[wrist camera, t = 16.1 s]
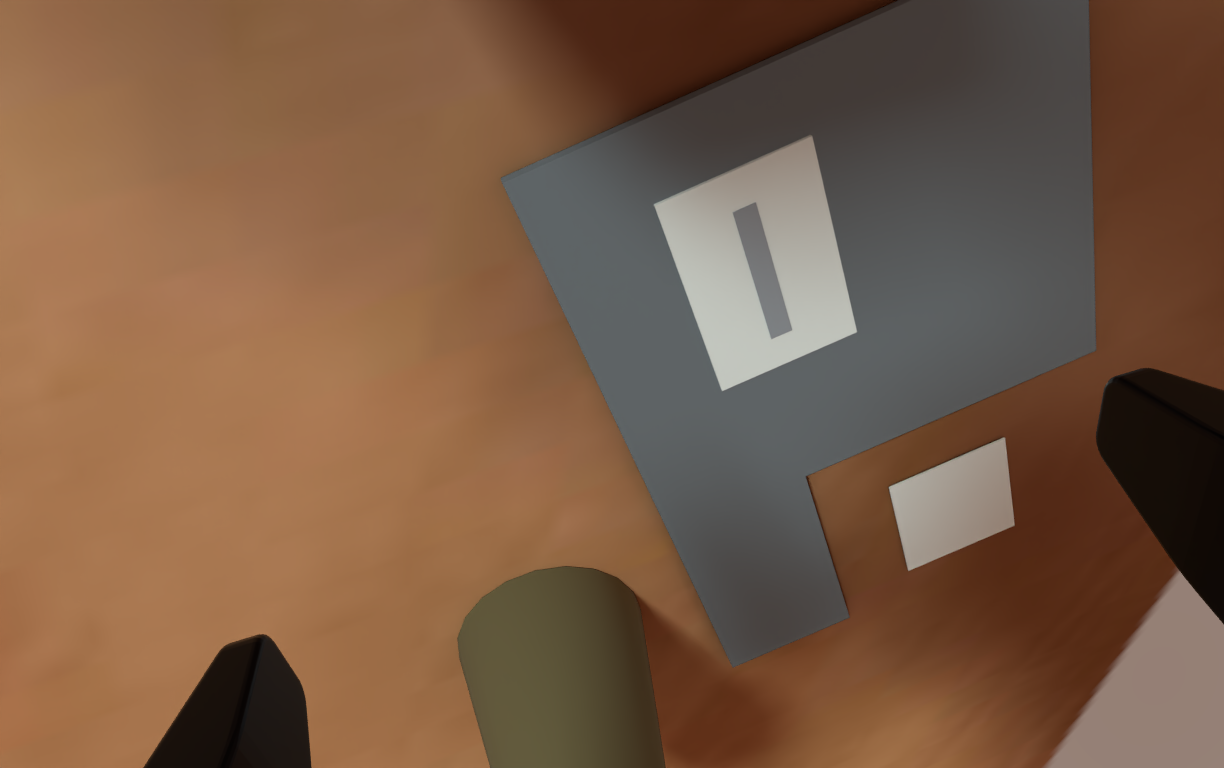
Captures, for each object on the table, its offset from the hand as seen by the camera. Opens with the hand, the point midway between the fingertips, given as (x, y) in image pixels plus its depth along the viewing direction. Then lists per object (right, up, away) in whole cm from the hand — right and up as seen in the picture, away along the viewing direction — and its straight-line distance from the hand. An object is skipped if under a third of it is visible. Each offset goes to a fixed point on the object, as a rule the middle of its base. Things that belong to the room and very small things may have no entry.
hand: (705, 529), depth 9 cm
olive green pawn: (-3, -7, +20) cm, 21 cm away
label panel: (+6, +2, +17) cm, 18 cm away
